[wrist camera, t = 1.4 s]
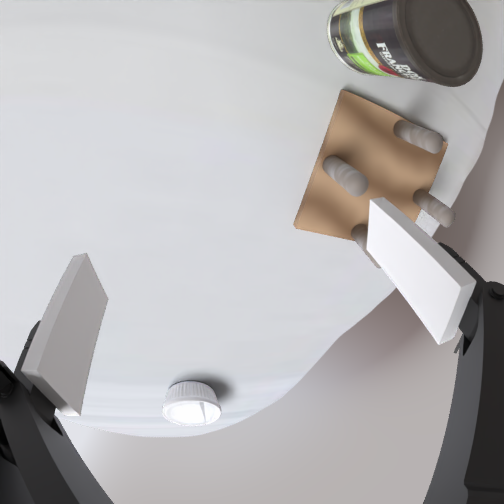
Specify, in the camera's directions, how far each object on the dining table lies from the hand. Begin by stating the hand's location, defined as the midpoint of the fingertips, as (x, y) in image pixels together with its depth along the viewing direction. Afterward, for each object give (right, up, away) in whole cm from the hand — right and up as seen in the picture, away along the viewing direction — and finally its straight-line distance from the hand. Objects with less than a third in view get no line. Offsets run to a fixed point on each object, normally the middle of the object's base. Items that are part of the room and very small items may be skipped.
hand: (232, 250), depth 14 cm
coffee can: (+14, +25, +14) cm, 32 cm away
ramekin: (-11, -28, +43) cm, 52 cm away
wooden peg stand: (+17, +10, +24) cm, 31 cm away
